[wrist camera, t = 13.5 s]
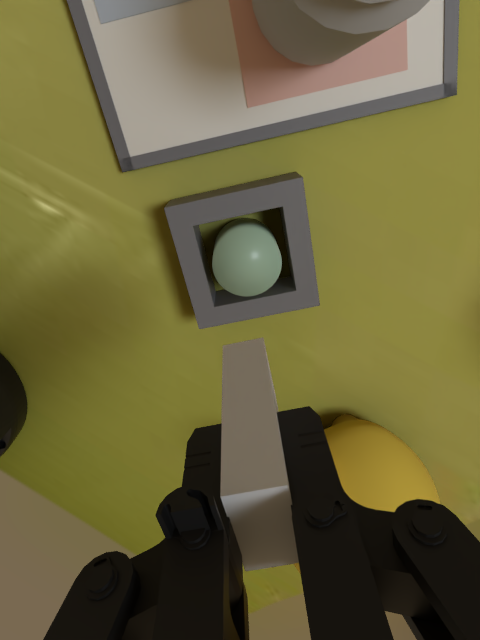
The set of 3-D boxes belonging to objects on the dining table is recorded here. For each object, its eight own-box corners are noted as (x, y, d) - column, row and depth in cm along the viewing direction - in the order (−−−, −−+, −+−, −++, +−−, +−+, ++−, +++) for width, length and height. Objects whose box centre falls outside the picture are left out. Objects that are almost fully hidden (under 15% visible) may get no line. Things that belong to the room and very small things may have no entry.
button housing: (202, 311, 32) (199, 329, 30) (170, 199, 28) (163, 208, 26) (312, 289, 32) (319, 305, 29) (295, 171, 28) (302, 177, 25)
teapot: (335, 531, 45) (370, 672, 33) (208, 432, 38) (198, 566, 27) (443, 469, 41) (525, 604, 29) (322, 346, 34) (368, 459, 23)
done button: (222, 284, 31) (221, 302, 28) (207, 225, 29) (204, 238, 26) (281, 272, 30) (286, 289, 27) (270, 211, 28) (275, 222, 25)
